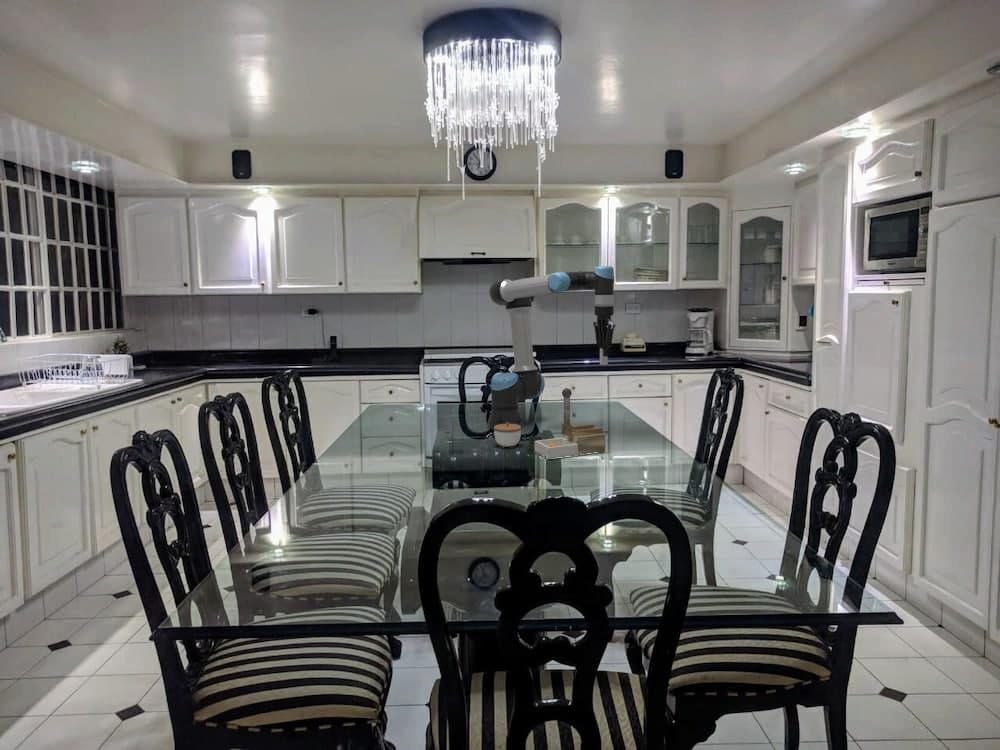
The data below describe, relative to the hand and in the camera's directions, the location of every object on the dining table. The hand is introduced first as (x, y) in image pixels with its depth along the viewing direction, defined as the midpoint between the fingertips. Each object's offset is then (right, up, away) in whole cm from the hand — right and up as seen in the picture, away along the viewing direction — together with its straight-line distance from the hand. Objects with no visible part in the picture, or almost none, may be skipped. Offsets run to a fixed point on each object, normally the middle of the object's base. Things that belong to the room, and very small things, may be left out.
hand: (603, 364), depth 293 cm
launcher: (-10, -33, -15) cm, 38 cm away
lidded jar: (-39, -32, -5) cm, 51 cm away
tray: (-21, -34, -19) cm, 44 cm away
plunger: (-16, -27, -19) cm, 36 cm away
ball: (-22, -32, -20) cm, 44 cm away
